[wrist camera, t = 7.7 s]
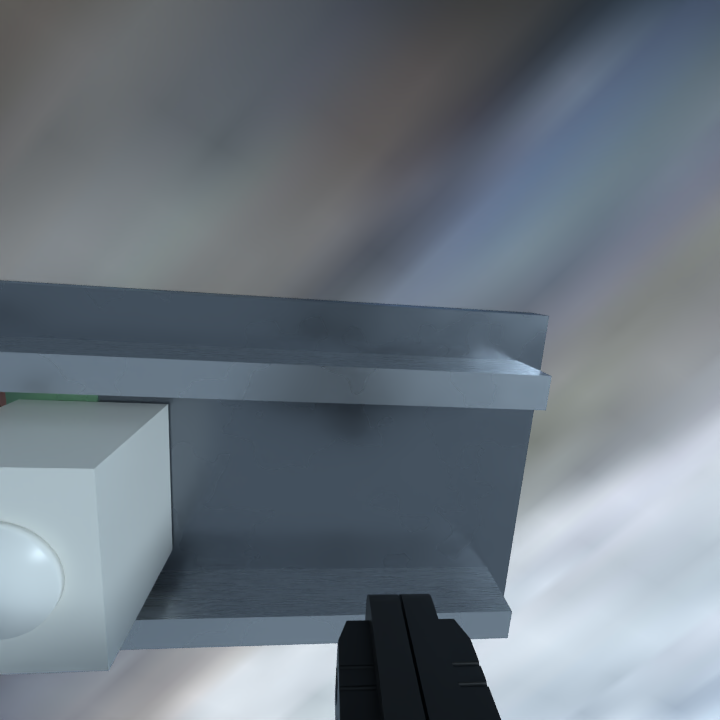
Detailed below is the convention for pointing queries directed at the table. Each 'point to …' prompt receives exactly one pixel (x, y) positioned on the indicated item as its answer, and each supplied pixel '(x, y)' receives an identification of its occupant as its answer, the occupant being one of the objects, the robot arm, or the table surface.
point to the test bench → (303, 448)
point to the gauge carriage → (79, 529)
